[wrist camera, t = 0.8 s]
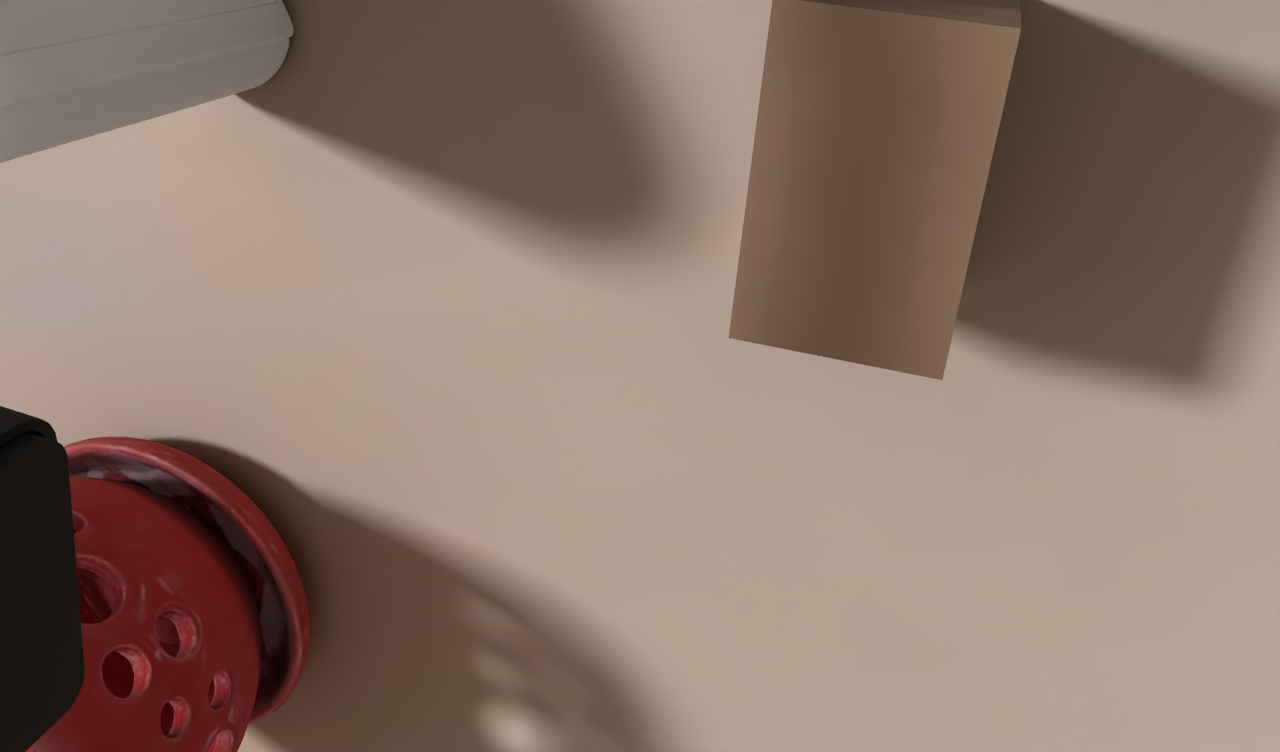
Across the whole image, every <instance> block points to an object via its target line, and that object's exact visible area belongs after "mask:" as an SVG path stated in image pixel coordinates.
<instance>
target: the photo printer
mask: <svg viewBox="0 0 1280 752" xmlns="http://www.w3.org/2000/svg"><path fill="white" fill-rule="evenodd" d="M292 35H293V26H292V22H291V19H290V17H289V14H288V12H287V10H286V8H285V6H284V3H283V1H282V0H0V163H1V162H5V161H8V160H11V159H15V158H18V157H22V156H25V155H28V154H32V153H35V152H38V151H42V150H45V149H49V148H52V147H55V146H59V145H62V144H66V143H69V142H72V141H76V140H79V139H82V138H86V137H89V136H93V135H96V134H100V133H103V132H107V131H110V130H114V129H117V128H120V127H124V126H127V125H131V124H134V123H138V122H141V121H145V120H148V119H152V118H155V117H158V116H162V115H165V114H169V113H172V112H176V111H179V110H182V109H186V108H189V107H192V106H196V105H199V104H203V103H206V102H209V101H213V100H216V99H220V98H223V97H226V96H230V95H233V94H236V93H240V92H243V91H246V90H249V89H253V88H256V87H258V86H260V85H262V84H263V83H265V82H267V81H268V80H269V79H270V78H271V77H272V76H273V75H274V74H275V73H276V72H277V71H278V70H279V68H280V67H281V65H282V63H283V61H284V59H285V57H286V54H287V51H288V48H289V43H290V40H289V37H291V36H292Z"/></svg>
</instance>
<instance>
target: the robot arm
mask: <svg viewBox="0 0 1280 752" xmlns="http://www.w3.org/2000/svg"><path fill="white" fill-rule="evenodd" d="M84 672H85V668H84V655H83V643H82V630H81V618H80V605H79V592H78V580H77V567H76V554H75V542H74V529H73V517H72V504H71V491H70V479H69V466H68V457H67V453H66V450H65V448H64V447H63V446H62V444H60V443H58V442H57V438H56V434H55V431H54V429H53V428H52V427H51V425H50V424H49V423H48V422H46V421H44V420H42V419H39V418H36V417H33V416H30V415H27V414H23V413H20V412H17V411H14V410H11V409H8V408H4V407H1V406H0V752H26V751H27V750H28V749H29V748H30V747H31V746H32V745H33V744H34V743H35V742H36V741H37V740H38V739H39V738H40V737H41V736H42V735H44V734H45V733H46V732H47V731H48V730H49V729H50V728H51V727H52V726H53V725H54V724H55V723H56V722H57V721H58V720H59V719H60V718H61V717H63V716H64V715H65V713H66V712H67V711H68V710H69V709H70V708H71V706H72V705H73V703H74V702H75V700H76V699H77V697H78V695H79V692H80V690H81V688H82V684H83V681H84Z"/></svg>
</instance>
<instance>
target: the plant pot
mask: <svg viewBox="0 0 1280 752" xmlns="http://www.w3.org/2000/svg"><path fill="white" fill-rule="evenodd" d="M64 448H65V450H66V453H67V457H68V466H69V479H70V491H71V504H72V517H73V529H74V542H75V554H76V567H77V580H78V592H79V605H80V618H81V630H82V643H83V655H84V668H85V672H84V681H83V684H82V688H81V690H80V692H79V695H78V697H77V699H76V700H75V702H74V703H73V705H72V706H71V708H70V709H69V710H68V711H67V712H66V713H65V715H64V716H63V717H61V718H60V719H59V720H58V721H57V722H56V723H55V724H54V725H53V726H52V727H51V728H50V729H49V730H48V731H47V732H46V733H45V734H44V735H42V736H41V737H40V738H39V739H38V740H37V741H36V742H35V743H34V744H33V745H32V746H31V747H30V748H29V749H28V750H27V751H26V752H237V751H238V749H239V747H240V744H241V742H242V740H243V737H244V734H245V731H246V728H247V726H248V725H249V724H252V723H255V722H257V721H259V720H261V719H263V718H264V717H266V716H268V715H269V714H271V713H272V712H274V711H275V710H277V709H278V708H279V707H280V706H281V705H282V704H283V703H284V702H285V700H286V699H287V698H288V697H289V695H290V694H291V693H292V691H293V689H294V688H295V686H296V684H297V683H298V681H299V678H300V676H301V674H302V672H303V669H304V666H305V663H306V660H307V655H308V650H309V644H310V618H309V609H308V604H307V599H306V594H305V591H304V588H303V584H302V581H301V578H300V575H299V573H298V570H297V567H296V565H295V563H294V561H293V559H292V557H291V555H290V553H289V551H288V549H287V547H286V545H285V544H284V542H283V541H282V539H281V537H280V535H279V534H278V532H277V531H276V529H275V528H274V527H273V525H272V524H271V523H270V521H269V520H268V518H267V517H266V516H265V515H264V513H263V512H262V511H261V510H260V509H259V508H258V507H257V506H256V505H255V503H254V502H253V501H252V500H251V499H250V498H249V497H248V496H247V495H246V494H245V493H244V492H242V491H241V490H240V489H239V488H238V487H237V486H236V485H235V484H234V483H232V482H231V481H230V480H228V479H227V478H226V477H224V476H223V475H222V474H220V473H219V472H218V471H216V470H215V469H213V468H212V467H210V466H208V465H207V464H205V463H203V462H202V461H200V460H199V459H197V458H195V457H193V456H191V455H189V454H187V453H184V452H182V451H180V450H178V449H175V448H172V447H169V446H166V445H164V444H162V443H156V442H152V441H148V440H143V439H137V438H129V437H100V438H91V439H87V440H82V441H79V442H75V443H72V444H69V445H67V446H64Z"/></svg>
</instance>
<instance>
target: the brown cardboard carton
mask: <svg viewBox="0 0 1280 752" xmlns="http://www.w3.org/2000/svg"><path fill="white" fill-rule="evenodd" d="M1020 32H1021V0H773V1H772V9H771V17H770V24H769V32H768V40H767V47H766V55H765V63H764V71H763V78H762V86H761V94H760V101H759V109H758V117H757V124H756V132H755V140H754V148H753V155H752V163H751V171H750V178H749V186H748V194H747V201H746V209H745V217H744V225H743V232H742V240H741V248H740V255H739V263H738V271H737V278H736V286H735V294H734V302H733V309H732V317H731V325H730V332H729V338H732V339H737V340H742V341H748V342H753V343H758V344H763V345H768V346H773V347H778V348H783V349H788V350H793V351H798V352H803V353H808V354H813V355H818V356H823V357H828V358H833V359H838V360H844V361H849V362H854V363H859V364H864V365H869V366H874V367H879V368H884V369H889V370H894V371H899V372H904V373H909V374H914V375H919V376H924V377H929V378H934V379H940V380H942V379H943V374H944V370H945V366H946V361H947V357H948V352H949V348H950V343H951V339H952V334H953V330H954V325H955V321H956V317H957V312H958V308H959V303H960V299H961V294H962V290H963V285H964V281H965V277H966V272H967V268H968V263H969V259H970V254H971V250H972V245H973V241H974V237H975V232H976V228H977V223H978V219H979V214H980V210H981V205H982V201H983V197H984V192H985V188H986V183H987V179H988V174H989V170H990V165H991V161H992V157H993V152H994V148H995V143H996V139H997V134H998V130H999V125H1000V121H1001V117H1002V112H1003V108H1004V103H1005V99H1006V94H1007V90H1008V85H1009V81H1010V77H1011V72H1012V68H1013V63H1014V59H1015V54H1016V50H1017V45H1018V41H1019V37H1020Z"/></svg>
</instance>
